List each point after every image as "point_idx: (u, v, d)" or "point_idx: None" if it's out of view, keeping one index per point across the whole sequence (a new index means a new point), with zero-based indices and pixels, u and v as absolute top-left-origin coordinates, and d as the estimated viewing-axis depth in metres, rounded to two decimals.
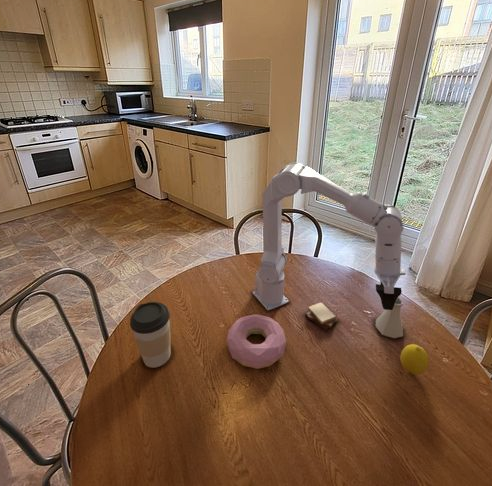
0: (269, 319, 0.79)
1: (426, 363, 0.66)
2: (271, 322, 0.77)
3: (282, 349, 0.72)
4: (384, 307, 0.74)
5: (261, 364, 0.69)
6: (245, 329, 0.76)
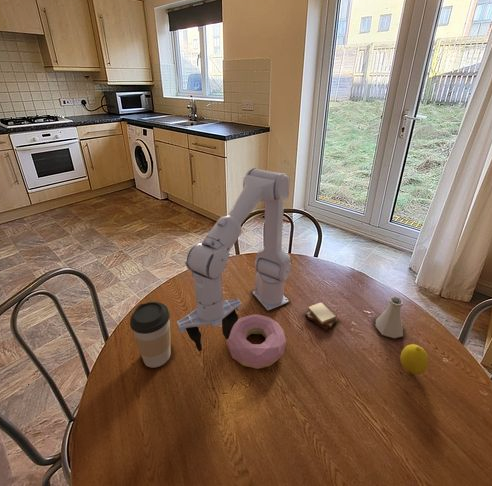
0: (269, 319, 0.79)
1: (426, 363, 0.66)
2: (271, 322, 0.77)
3: (282, 349, 0.72)
4: (195, 344, 0.67)
5: (261, 364, 0.69)
6: (245, 329, 0.76)
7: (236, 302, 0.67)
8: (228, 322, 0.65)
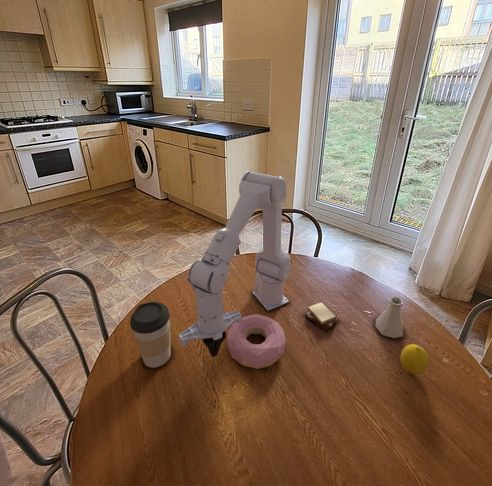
0: (269, 319, 0.79)
1: (426, 363, 0.66)
2: (271, 322, 0.77)
3: (282, 349, 0.72)
4: (209, 350, 0.69)
5: (261, 364, 0.69)
6: (245, 329, 0.76)
7: (236, 314, 0.68)
8: (216, 340, 0.65)
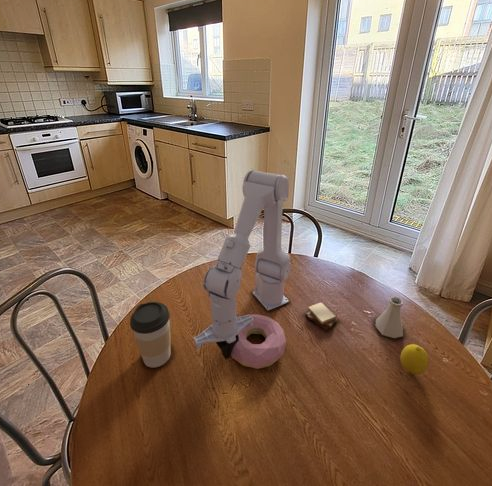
0: (269, 319, 0.79)
1: (426, 363, 0.66)
2: (271, 322, 0.77)
3: (282, 349, 0.72)
4: None
5: (261, 364, 0.69)
6: (245, 329, 0.76)
7: (248, 318, 0.71)
8: (229, 343, 0.68)
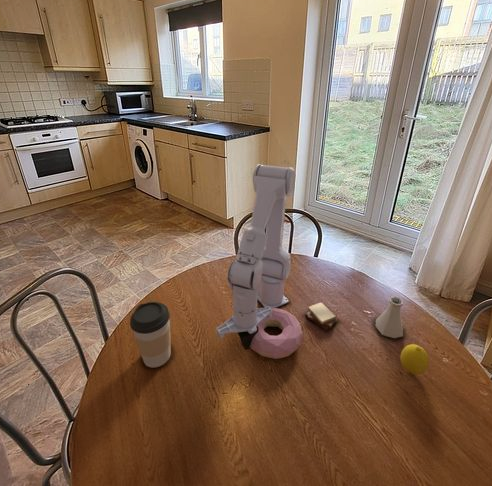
0: (285, 312, 0.81)
1: (426, 363, 0.66)
2: (287, 314, 0.80)
3: (299, 340, 0.74)
4: None
5: (280, 354, 0.71)
6: (262, 321, 0.79)
7: (267, 310, 0.73)
8: (249, 334, 0.70)
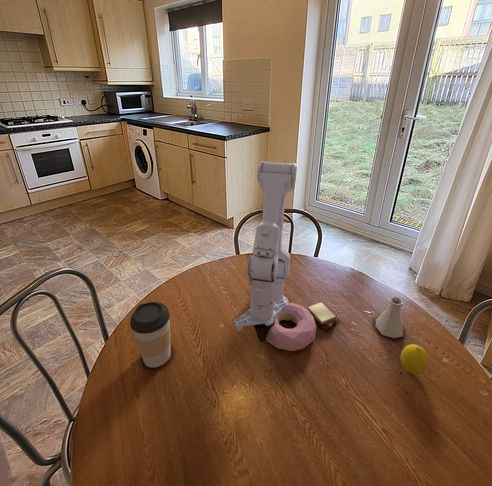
0: (299, 306, 0.83)
1: (426, 363, 0.66)
2: (301, 309, 0.82)
3: (314, 333, 0.76)
4: (257, 336, 0.76)
5: (295, 346, 0.73)
6: (277, 315, 0.81)
7: (283, 304, 0.75)
8: (266, 326, 0.72)
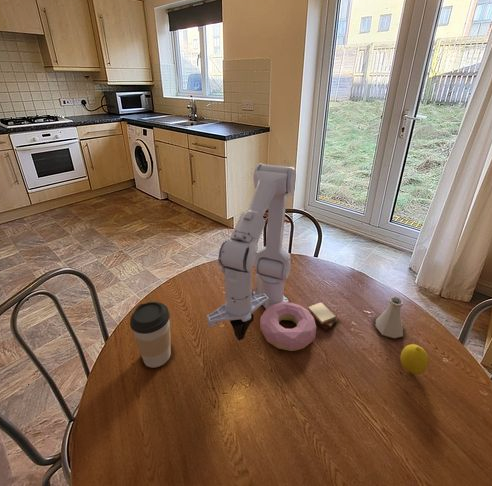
0: (299, 306, 0.83)
1: (426, 363, 0.66)
2: (301, 309, 0.82)
3: (314, 333, 0.76)
4: None
5: (295, 346, 0.73)
6: (277, 315, 0.81)
7: (263, 297, 0.67)
8: (244, 322, 0.64)
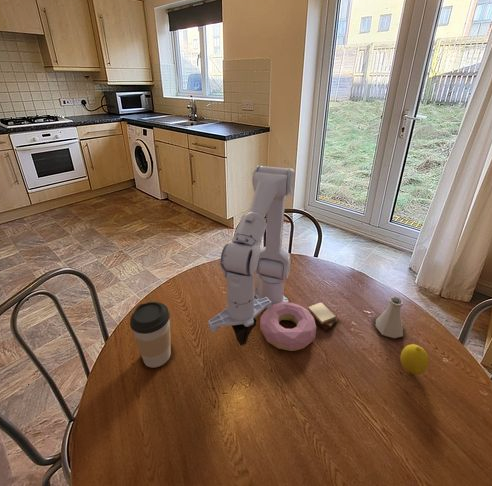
0: (299, 306, 0.83)
1: (426, 363, 0.66)
2: (301, 309, 0.82)
3: (314, 333, 0.76)
4: None
5: (295, 346, 0.73)
6: (277, 315, 0.81)
7: (266, 301, 0.66)
8: (246, 327, 0.62)
